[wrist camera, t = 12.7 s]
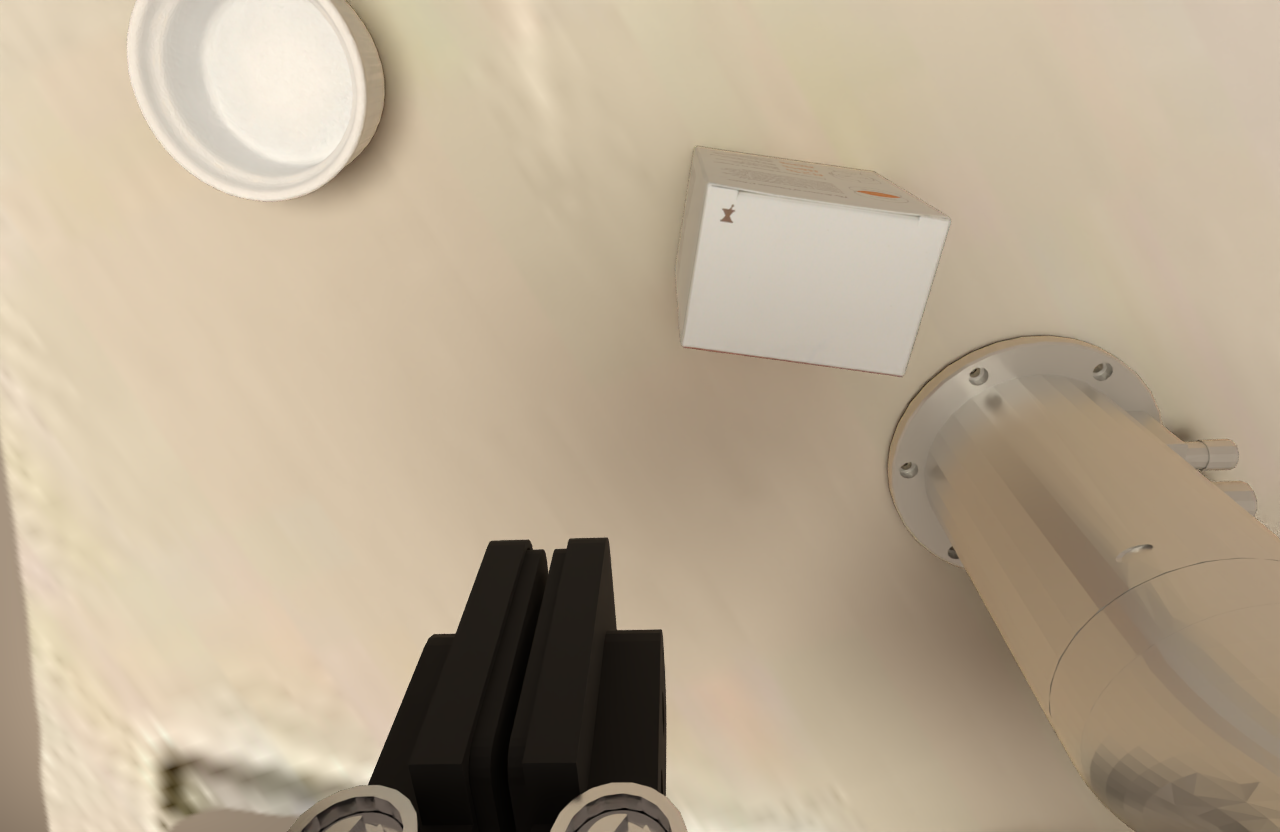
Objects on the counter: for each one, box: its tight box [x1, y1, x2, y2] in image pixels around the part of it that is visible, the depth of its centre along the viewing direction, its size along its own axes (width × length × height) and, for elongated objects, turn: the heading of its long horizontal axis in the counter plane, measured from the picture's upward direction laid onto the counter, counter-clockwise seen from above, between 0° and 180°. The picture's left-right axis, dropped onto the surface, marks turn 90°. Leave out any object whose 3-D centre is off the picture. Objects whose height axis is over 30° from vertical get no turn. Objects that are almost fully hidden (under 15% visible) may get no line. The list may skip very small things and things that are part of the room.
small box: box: [675, 146, 951, 377], centre depth 31 cm, size 8×6×10 cm
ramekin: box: [127, 0, 385, 202], centre depth 32 cm, size 9×9×4 cm
